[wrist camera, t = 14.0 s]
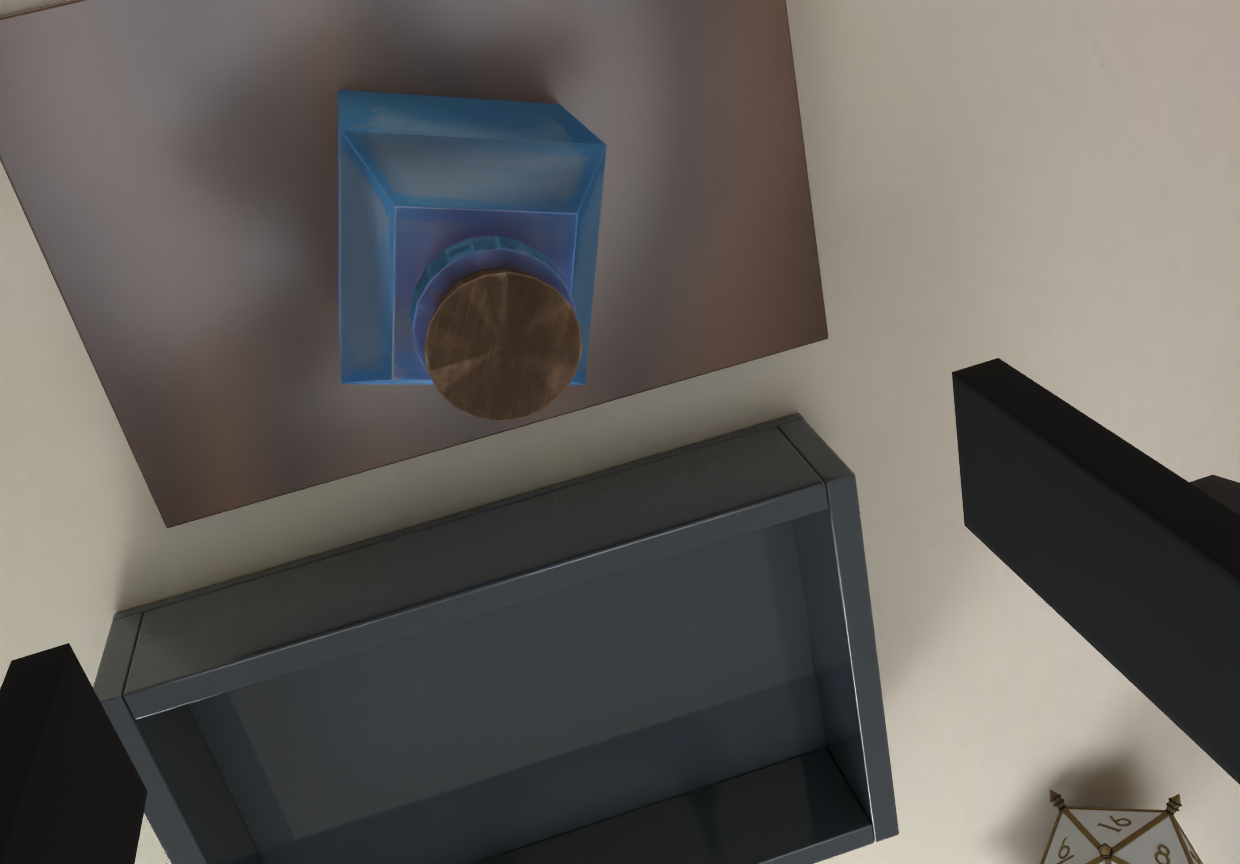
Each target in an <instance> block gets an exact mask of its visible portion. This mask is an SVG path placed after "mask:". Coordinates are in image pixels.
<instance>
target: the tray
mask: <svg viewBox="0 0 1240 864" xmlns="http://www.w3.org/2000/svg"><path fill="white" fill-rule="evenodd" d="M93 689H94V691H95V693H96V695H97V697H98V699H99V701H100V702H101V704H102V706H103V708H104V710H105V712H106V714H107V716H108V717H109V719H110V721H111V723H112V725H113V727H114V729H115V731H116V733H117V734H118V736H119V738H120V740H121V742H122V744H123V746H124V748H125V749H126V751H127V753H128V755H129V757H130V759H131V761H132V763H133V764H134V766H135V768H136V770H137V772H138V774H139V776H140V778H141V779H142V781H143V783H144V785H145V787H146V789H147V791H148V792H147V798H146V803H145V809H144V813H145V815H146V817H147V819H148V821H149V822H150V824H151V826H152V828H153V830H154V832H155V834H156V836H157V837H158V839H159V841H160V843H161V845H162V847H163V849H164V851H165V852H166V854H167V856H168V858H169V860H170V862H171V864H814V863H817V862H820V861H823V860H826V859H829V858H832V857H835V856H838V855H841V854H844V853H846V852H849V851H852V850H855V849H858V848H861V847H864V846H867V845H870V844H873V843H874V841H875V842H879V841H881V840H884V839H887V838H890V837H893V836H896V835H898V834H899V830H898V822H897V814H896V806H895V797H894V789H893V781H892V773H891V765H890V756H889V748H888V740H887V732H886V724H885V716H884V707H883V699H882V691H881V683H880V675H879V666H878V658H877V650H876V642H875V634H874V626H873V617H872V609H871V601H870V593H869V585H868V577H867V568H866V560H865V552H864V544H863V536H862V527H861V519H860V511H859V503H858V495H857V487H856V478H855V474H854V473H853V472H852V471H851V470H850V468H849V467H848V466H847V465H846V464H845V463H844V462H843V461H842V460H841V459H840V458H839V457H838V455H837V454H836V453H835V452H834V451H833V450H832V449H831V448H830V447H829V446H828V445H827V444H826V442H825V441H824V440H823V439H822V438H821V437H820V436H819V435H818V434H817V433H816V432H815V431H814V429H813V428H812V427H811V426H810V425H809V424H808V423H807V422H806V421H805V420H804V419H803V417H802V416H801V415H800V414H799V413H797V414H794V415H790V416H787V417H783V418H780V419H777V420H773V421H770V422H766V423H763V424H760V425H756V426H753V427H749V428H746V429H743V430H739V431H736V432H732V433H729V434H726V435H722V436H719V437H715V438H712V439H709V440H705V441H702V442H698V443H695V444H692V445H688V446H685V447H681V448H678V449H675V450H671V451H668V452H664V453H661V454H658V455H654V456H651V457H647V458H644V459H641V460H637V461H634V462H630V463H627V464H624V465H620V466H617V467H613V468H610V469H607V470H603V471H600V472H596V473H593V474H590V475H586V476H583V477H579V478H576V479H573V480H569V481H566V482H562V483H559V484H556V485H552V486H549V487H545V488H542V489H539V490H535V491H532V492H528V493H525V494H522V495H518V496H515V497H511V498H508V499H505V500H501V501H498V502H494V503H491V504H488V505H484V506H481V507H477V508H474V509H470V510H467V511H464V512H460V513H457V514H453V515H450V516H447V517H443V518H440V519H436V520H433V521H430V522H426V523H423V524H419V525H416V526H413V527H409V528H406V529H402V530H399V531H396V532H392V533H389V534H385V535H382V536H379V537H375V538H372V539H368V540H365V541H362V542H358V543H355V544H351V545H348V546H345V547H341V548H338V549H334V550H331V551H328V552H324V553H321V554H317V555H314V556H311V557H307V558H304V559H300V560H297V561H294V562H290V563H287V564H283V565H280V566H277V567H273V568H270V569H266V570H263V571H260V572H256V573H253V574H249V575H246V576H243V577H239V578H236V579H232V580H229V581H226V582H222V583H219V584H215V585H212V586H209V587H205V588H202V589H198V590H195V591H192V592H188V593H185V594H181V595H178V596H175V597H171V598H168V599H164V600H161V601H158V602H154V603H151V604H147V605H144V606H141V607H137V608H134V609H130V610H127V611H124V612H120V613H117V614H114V617H113V622H112V624H111V628H110V631H109V635H108V638H107V641H106V645H105V648H104V652H103V655H102V659H101V662H100V665H99V669H98V672H97V676H96V679H95V682H94V686H93Z"/></svg>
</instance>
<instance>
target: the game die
mask: <svg viewBox="0 0 1240 864" xmlns="http://www.w3.org/2000/svg"><path fill="white" fill-rule="evenodd" d="M1050 799H1051V800H1050V802H1052V803H1053V804H1054V805H1053V806H1056V807H1057V808H1058V809H1059V814H1058V817H1057V819H1056V822H1055V825H1054V828H1053V830H1052V833H1051V836H1050V839H1049V841H1048V844H1047V847H1046V850H1045V852H1044V855H1043V858H1042V861H1041V863H1040V864H1203V863H1202V862H1201V860H1200V858H1199V857H1198V855H1197V853H1196V852H1195V850H1194V848H1193V847H1192V845H1191V843H1190V842H1189V840H1188V839H1187V837H1186V835H1185V834H1184V832H1183V830H1182V829H1181V827H1180V825H1179V824H1178V822H1177V820H1176V819H1175V817H1174V813H1175V812H1176V811H1179V807H1180V806H1181V807H1182V805H1181V802H1180V795H1179V794H1178V795H1176V796H1174V797H1172V798H1169V802H1168V803H1167V804H1166V805H1167V808H1166V810H1146V809H1117V808H1088V807H1066V806H1065V804H1064V799H1062V798H1061V794H1060V795H1059V794H1057V793H1055V792H1053V791H1051V790H1050Z"/></svg>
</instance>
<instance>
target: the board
mask: <svg viewBox="0 0 1240 864" xmlns="http://www.w3.org/2000/svg"><path fill="white" fill-rule="evenodd" d="M338 90H350V91H365V92H381V93H396V94H412V95H427V96H442V97H458V98H473V99H488V100H504V101H519V102H534V103H550V104H560V105H561V106H563V107H564V108H565V109H566V110H567V111H568V112H569V113H571V114H572V115H573V116H574V117H575V118H576V119H577V120H579V121H580V122H581V123H582V124H583V125H584V126H585V127H587V128H588V129H589V130H590V131H591V132H592V133H594V134H595V135H596V136H597V137H598V138H599V139H600V140H602V141H603V142H604V143H605V144H606V145H607V146H606V157H605V169H604V180H603V191H602V202H601V213H600V224H599V236H598V247H597V258H596V269H595V280H594V291H593V303H592V314H591V325H590V336H589V347H588V358H587V369H586V381H585V385H568V387H567V389H566V390H565V392H564V393H563V394H562V395H561V396H559V397H558V398H557V399H556V400H555V401H554V402H553V403H551V404H550V405H549V406H548V407H547V408H545V409H543V410H541V411H539V412H537V413H535V414H532V415H530V416H528V417H526V418H523V419H516V420H509V421H503V422H498V421H491V420H484V419H477V418H474V417H472V416H470V415H468V414H466V413H464V412H462V411H460V410H458V409H455V408H454V407H453V406H452V405H451V404H450V403H449V402H448V401H447V400H446V399H445V398H444V397H443V396H442V395H441V394H439V393H438V391H437V389H436V387H435V385H425V384H341V375H340V346H339V316H338ZM0 160H1V162H2V165H3V167H4V169H5V171H6V173H7V176H8V178H9V180H10V182H11V185H12V187H13V189H14V191H15V193H16V196H17V198H18V200H19V202H20V204H21V207H22V209H23V211H24V213H25V216H26V218H27V220H28V222H29V224H30V227H31V229H32V231H33V233H34V235H35V238H36V240H37V242H38V244H39V247H40V249H41V251H42V253H43V255H44V258H45V260H46V262H47V264H48V266H49V269H50V271H51V273H52V275H53V278H54V280H55V282H56V284H57V286H58V289H59V291H60V293H61V295H62V297H63V300H64V302H65V304H66V306H67V309H68V311H69V313H70V315H71V317H72V320H73V322H74V324H75V326H76V328H77V331H78V333H79V335H80V337H81V339H82V342H83V344H84V346H85V348H86V351H87V353H88V355H89V357H90V359H91V362H92V364H93V366H94V368H95V370H96V373H97V375H98V377H99V379H100V382H101V384H102V386H103V388H104V390H105V393H106V395H107V397H108V399H109V401H110V404H111V406H112V408H113V410H114V413H115V415H116V417H117V419H118V421H119V424H120V426H121V428H122V430H123V432H124V435H125V437H126V439H127V441H128V444H129V446H130V448H131V450H132V452H133V455H134V457H135V459H136V461H137V463H138V466H139V468H140V470H141V472H142V475H143V477H144V479H145V481H146V483H147V486H148V488H149V490H150V492H151V494H152V497H153V499H154V501H155V503H156V506H157V508H158V510H159V512H160V514H161V517H162V519H163V521H164V523H165V525H166V527H167V528H170V527H173V526H177V525H180V524H183V523H187V522H190V521H194V520H197V519H201V518H204V517H208V516H211V515H215V514H218V513H222V512H225V511H229V510H232V509H236V508H239V507H243V506H246V505H250V504H253V503H257V502H260V501H264V500H267V499H271V498H274V497H278V496H281V495H285V494H288V493H292V492H295V491H299V490H302V489H306V488H309V487H312V486H316V485H319V484H323V483H326V482H330V481H333V480H337V479H340V478H344V477H347V476H351V475H354V474H358V473H361V472H365V471H368V470H372V469H375V468H379V467H382V466H386V465H389V464H393V463H396V462H400V461H403V460H407V459H410V458H414V457H417V456H421V455H424V454H428V453H431V452H435V451H438V450H442V449H445V448H448V447H452V446H455V445H459V444H462V443H466V442H469V441H473V440H476V439H480V438H483V437H487V436H490V435H494V434H497V433H501V432H504V431H508V430H511V429H515V428H518V427H522V426H525V425H529V424H532V423H536V422H539V421H543V420H546V419H550V418H553V417H557V416H560V415H564V414H567V413H571V412H574V411H577V410H581V409H584V408H588V407H591V406H595V405H598V404H602V403H605V402H609V401H612V400H616V399H619V398H623V397H626V396H630V395H633V394H637V393H640V392H644V391H647V390H651V389H654V388H658V387H661V386H665V385H668V384H672V383H675V382H679V381H682V380H686V379H689V378H693V377H696V376H700V375H703V374H707V373H710V372H713V371H717V370H720V369H724V368H727V367H731V366H734V365H738V364H741V363H745V362H748V361H752V360H755V359H759V358H762V357H766V356H769V355H773V354H776V353H780V352H783V351H787V350H790V349H794V348H797V347H801V346H804V345H808V344H811V343H815V342H818V341H822V340H825V339H828V331H827V323H826V315H825V307H824V300H823V292H822V284H821V276H820V268H819V260H818V252H817V244H816V236H815V228H814V221H813V213H812V205H811V197H810V189H809V181H808V173H807V165H806V157H805V149H804V142H803V134H802V126H801V118H800V110H799V102H798V94H797V86H796V78H795V70H794V63H793V55H792V47H791V39H790V31H789V23H788V15H787V7H786V0H69V1H65V2H61V3H56V4H52V5H48V6H43V7H39V8H35V9H30V10H26V11H22V12H17V13H13V14H9V15H4V16H0Z"/></svg>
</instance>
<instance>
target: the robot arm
mask: <svg viewBox="0 0 1240 864" xmlns="http://www.w3.org/2000/svg"><path fill="white" fill-rule="evenodd" d="M952 379H953V391H954V403H955V415H956V427H957V440H958V452H959V464H960V476H961V488H962V500H963V512H964V524H965V526H966V527H967V528H968V529H969V530H970V531H971V532H972V533H973V534H974V535H975V536H976V537H977V538H979V539H980V540H981V541H982V542H983V543H984V544H985V545H986V546H987V547H988V548H989V549H990V550H991V551H992V552H993V553H994V554H996V555H997V556H998V557H999V558H1000V559H1001V560H1002V561H1003V562H1004V563H1005V564H1006V565H1007V566H1008V567H1009V568H1010V569H1011V570H1013V571H1014V572H1015V573H1016V574H1017V575H1018V576H1019V577H1020V578H1021V579H1022V580H1023V581H1024V582H1025V583H1026V584H1027V585H1028V586H1029V587H1031V588H1032V589H1033V590H1034V591H1035V592H1036V593H1037V594H1038V595H1039V596H1040V597H1041V598H1042V599H1043V600H1044V601H1045V602H1046V603H1048V604H1049V605H1050V606H1051V607H1052V608H1053V609H1054V610H1055V611H1056V612H1057V613H1058V614H1059V615H1060V616H1061V617H1062V618H1063V619H1065V620H1066V621H1067V622H1068V623H1069V624H1070V625H1071V626H1072V627H1073V628H1074V629H1075V630H1076V631H1077V632H1078V633H1079V634H1080V635H1082V636H1083V637H1084V638H1085V639H1086V640H1087V641H1088V642H1089V643H1090V644H1091V645H1092V646H1093V647H1094V648H1095V649H1096V650H1097V651H1098V652H1100V653H1101V654H1102V655H1103V656H1104V657H1105V658H1106V659H1107V660H1108V661H1109V662H1110V663H1111V664H1112V665H1113V666H1114V667H1115V668H1117V669H1118V670H1119V671H1120V672H1121V673H1122V674H1123V675H1124V676H1125V677H1126V678H1127V679H1128V680H1129V681H1130V682H1131V683H1132V684H1134V685H1135V686H1136V687H1137V688H1138V689H1139V690H1140V691H1141V692H1142V693H1143V694H1144V695H1145V696H1146V697H1147V698H1148V699H1149V700H1151V701H1152V702H1153V703H1154V704H1155V705H1156V706H1157V707H1158V708H1159V709H1160V710H1161V711H1162V712H1163V713H1164V714H1165V715H1166V716H1168V717H1169V718H1170V719H1171V720H1172V721H1173V722H1174V723H1175V724H1176V725H1177V726H1178V727H1179V728H1180V729H1181V730H1182V731H1183V732H1184V733H1186V734H1187V735H1188V736H1189V737H1190V738H1191V739H1192V740H1193V741H1194V742H1195V743H1196V744H1197V745H1198V746H1199V747H1200V748H1201V749H1203V750H1204V751H1205V752H1206V753H1207V754H1208V755H1209V756H1210V757H1211V758H1212V759H1213V760H1214V761H1215V762H1216V763H1217V764H1218V765H1220V766H1221V767H1222V768H1223V769H1224V770H1225V771H1226V772H1227V773H1228V774H1229V775H1230V776H1231V777H1232V778H1233V779H1234V780H1235V781H1237V782H1238V783H1239V784H1240V483H1238V482H1235V481H1232V480H1228V479H1225V478H1222V477H1219V476H1215V475H1210V476H1207V477H1204V478H1201V479H1198V480H1195V481H1192V482H1188V481H1186V480H1184V479H1183V478H1181V477H1180V476H1178V475H1177V474H1175V473H1174V472H1172V471H1171V470H1169V469H1168V468H1166V467H1165V466H1163V465H1161V464H1160V463H1158V462H1157V461H1155V460H1154V459H1152V458H1151V457H1149V456H1148V455H1146V454H1145V453H1143V452H1142V451H1140V450H1138V449H1137V448H1135V447H1134V446H1132V445H1131V444H1129V443H1128V442H1126V441H1125V440H1123V439H1122V438H1120V437H1119V436H1117V435H1116V434H1114V433H1112V432H1111V431H1109V430H1108V429H1106V428H1105V427H1103V426H1102V425H1100V424H1099V423H1097V422H1096V421H1094V420H1093V419H1091V418H1089V417H1088V416H1086V415H1085V414H1083V413H1082V412H1080V411H1079V410H1077V409H1076V408H1074V407H1073V406H1071V405H1070V404H1068V403H1066V402H1065V401H1063V400H1062V399H1060V398H1059V397H1057V396H1056V395H1054V394H1053V393H1051V392H1050V391H1048V390H1047V389H1045V388H1043V387H1042V386H1040V385H1039V384H1037V383H1036V382H1034V381H1033V380H1031V379H1030V378H1028V377H1027V376H1025V375H1024V374H1022V373H1020V372H1019V371H1017V370H1016V369H1014V368H1013V367H1011V366H1010V365H1008V364H1007V363H1005V362H1004V361H1002V360H1001V359H999V358H997V359H994V360H990V361H987V362H984V363H981V364H977V365H974V366H971V367H968V368H964V369H961V370H958V371H954V372H952ZM147 792H148V791H147V789H146V787H145V785H144V783H143V781H142V779H141V778H140V776H139V774H138V772H137V770H136V768H135V766H134V764H133V763H132V761H131V759H130V757H129V755H128V753H127V751H126V749H125V748H124V746H123V744H122V742H121V740H120V738H119V736H118V734H117V733H116V731H115V729H114V727H113V725H112V723H111V721H110V719H109V717H108V716H107V714H106V712H105V710H104V708H103V706H102V704H101V702H100V701H99V699H98V697H97V695H96V693H95V691H94V689H93V687H92V686H91V684H90V682H89V680H88V678H87V676H86V674H85V672H84V670H83V669H82V667H81V665H80V663H79V661H78V659H77V657H76V655H75V654H74V652H73V650H72V648H71V646H70V644H69V643H68V644H65V645H61V646H58V647H55V648H52V649H48V650H45V651H42V652H38V653H35V654H32V655H29V656H25V657H22V658H19V659H16V660H12V661H11V664H10V666H9V669H8V671H7V674H6V676H5V679H4V681H3V684H2V686H1V689H0V864H134V863H135V857H136V852H137V846H138V841H139V836H140V830H141V825H142V819H143V814H144V809H145V803H146V798H147Z"/></svg>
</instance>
